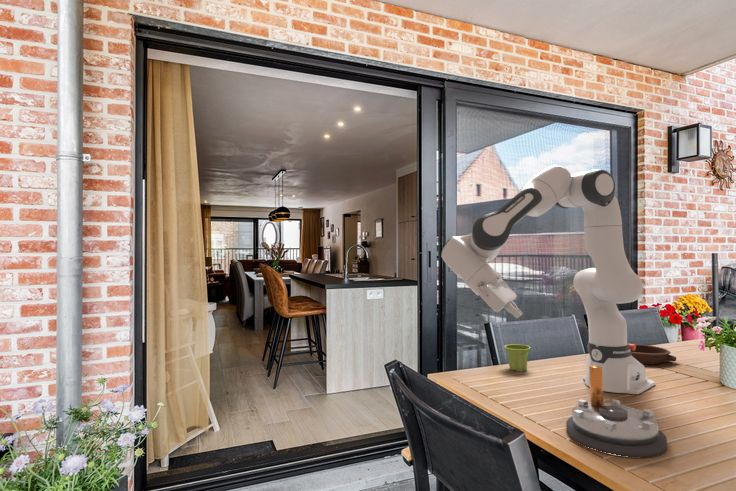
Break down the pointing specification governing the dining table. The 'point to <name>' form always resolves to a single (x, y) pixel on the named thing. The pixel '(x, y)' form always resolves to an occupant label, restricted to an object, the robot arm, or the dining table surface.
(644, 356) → the dish
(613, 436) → the round lugged disc
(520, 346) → the plant pot
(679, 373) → the dining table surface
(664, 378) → the dining table surface
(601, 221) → the robot arm
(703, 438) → the dining table surface
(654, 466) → the dining table surface
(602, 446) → the base plate
